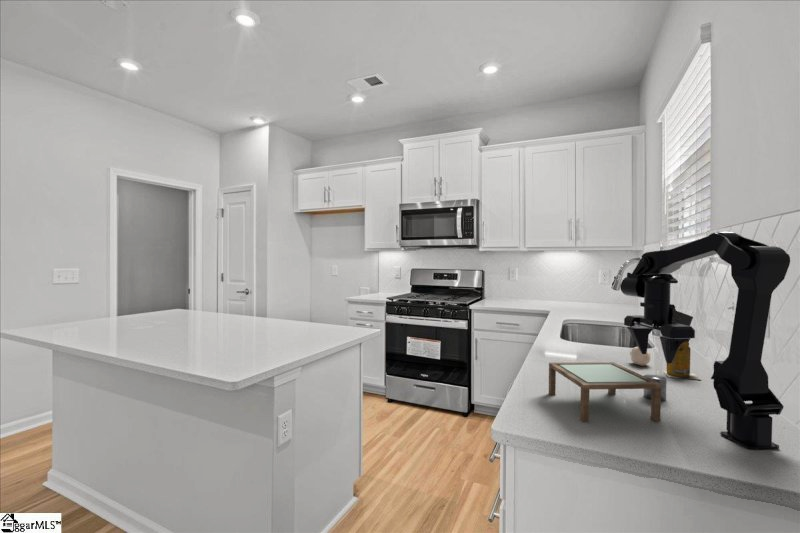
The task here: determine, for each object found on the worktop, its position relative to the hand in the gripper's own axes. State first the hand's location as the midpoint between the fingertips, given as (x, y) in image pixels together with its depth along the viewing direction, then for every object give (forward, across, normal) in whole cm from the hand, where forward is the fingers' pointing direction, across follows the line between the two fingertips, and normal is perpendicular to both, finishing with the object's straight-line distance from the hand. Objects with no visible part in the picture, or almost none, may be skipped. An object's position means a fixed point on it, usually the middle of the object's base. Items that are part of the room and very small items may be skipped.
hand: (655, 358), depth 101 cm
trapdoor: (+3, -5, +18) cm, 19 cm away
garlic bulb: (+11, +30, -17) cm, 36 cm away
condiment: (+11, +18, -22) cm, 30 cm away
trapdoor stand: (+11, -5, +18) cm, 21 cm away
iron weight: (+11, 0, 0) cm, 11 cm away
